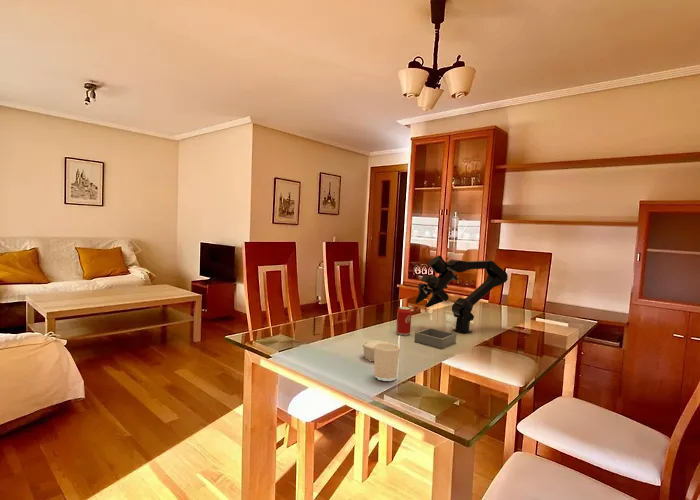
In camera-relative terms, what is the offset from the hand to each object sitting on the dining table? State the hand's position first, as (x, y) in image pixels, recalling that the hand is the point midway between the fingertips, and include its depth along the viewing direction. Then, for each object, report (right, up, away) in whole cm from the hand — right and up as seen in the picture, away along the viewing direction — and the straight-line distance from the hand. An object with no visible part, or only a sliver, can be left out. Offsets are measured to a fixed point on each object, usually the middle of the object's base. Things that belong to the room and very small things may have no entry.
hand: (420, 304), depth 172 cm
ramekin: (-22, -14, -36) cm, 45 cm away
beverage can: (-8, -13, -2) cm, 16 cm away
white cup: (-21, -15, -54) cm, 60 cm away
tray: (+4, -14, -13) cm, 19 cm away
